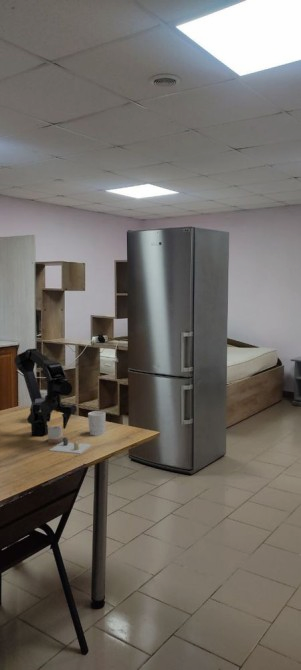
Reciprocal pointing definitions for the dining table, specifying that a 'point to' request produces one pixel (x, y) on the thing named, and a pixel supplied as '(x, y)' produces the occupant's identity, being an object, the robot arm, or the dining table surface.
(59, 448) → the pin board
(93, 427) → the white cup
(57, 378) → the robot arm
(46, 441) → the mat
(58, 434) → the sleeve
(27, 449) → the dining table surface
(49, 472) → the dining table surface
